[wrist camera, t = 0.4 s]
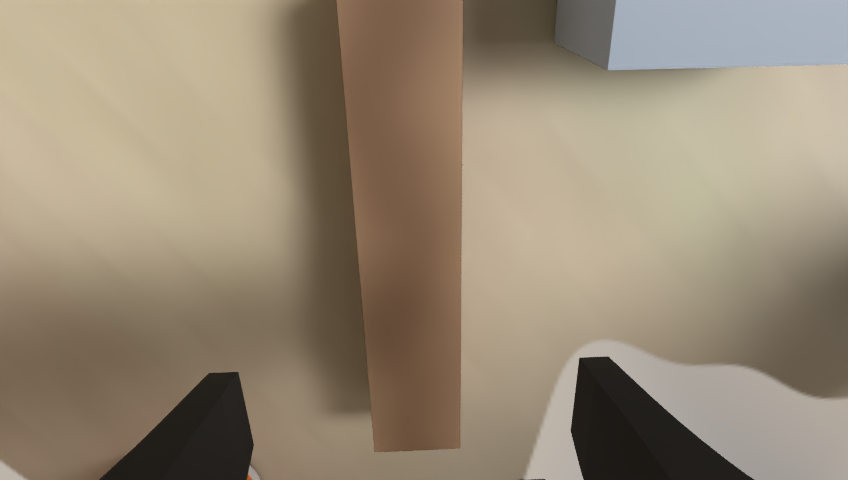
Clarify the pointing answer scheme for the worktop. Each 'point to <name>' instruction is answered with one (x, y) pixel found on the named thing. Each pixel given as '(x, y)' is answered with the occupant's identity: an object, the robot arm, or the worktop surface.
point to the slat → (407, 210)
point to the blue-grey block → (704, 32)
